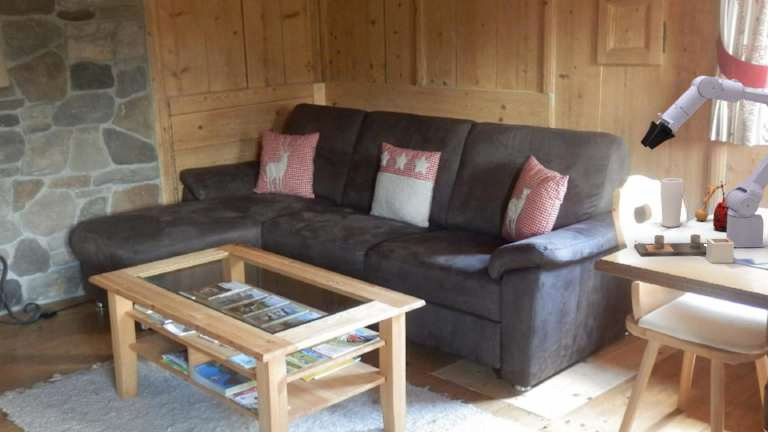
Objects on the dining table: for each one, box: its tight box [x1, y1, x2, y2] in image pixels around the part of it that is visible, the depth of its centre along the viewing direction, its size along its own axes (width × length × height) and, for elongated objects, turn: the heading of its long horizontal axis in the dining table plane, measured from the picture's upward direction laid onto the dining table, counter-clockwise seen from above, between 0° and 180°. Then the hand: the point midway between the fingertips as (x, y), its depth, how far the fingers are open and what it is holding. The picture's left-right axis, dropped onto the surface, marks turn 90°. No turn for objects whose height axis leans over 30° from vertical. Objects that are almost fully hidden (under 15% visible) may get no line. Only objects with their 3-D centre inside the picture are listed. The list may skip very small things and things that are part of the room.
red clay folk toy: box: [712, 180, 729, 232], centre depth 263 cm, size 8×7×15 cm
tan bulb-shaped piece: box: [694, 184, 717, 222], centre depth 275 cm, size 8×6×12 cm
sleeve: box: [705, 237, 735, 264], centre depth 232 cm, size 6×6×6 cm
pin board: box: [633, 233, 707, 257], centre depth 243 cm, size 22×10×4 cm, turn 84°
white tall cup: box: [660, 177, 684, 228], centre depth 270 cm, size 7×7×15 cm
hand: (645, 146), depth 241 cm, fingers open, 7 cm apart
